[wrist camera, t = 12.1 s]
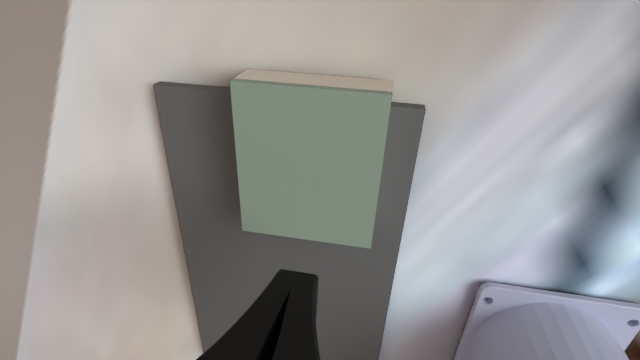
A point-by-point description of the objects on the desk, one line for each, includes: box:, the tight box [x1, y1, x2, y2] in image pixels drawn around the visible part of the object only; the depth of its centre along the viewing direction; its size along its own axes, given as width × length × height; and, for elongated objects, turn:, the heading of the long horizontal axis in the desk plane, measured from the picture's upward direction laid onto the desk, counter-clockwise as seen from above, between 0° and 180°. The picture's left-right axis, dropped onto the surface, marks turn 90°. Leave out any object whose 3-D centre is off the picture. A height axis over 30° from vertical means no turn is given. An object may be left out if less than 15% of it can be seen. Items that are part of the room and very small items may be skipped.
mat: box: [153, 82, 425, 360], centre depth 21 cm, size 20×12×1 cm, turn 177°
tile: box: [230, 69, 392, 249], centre depth 16 cm, size 7×2×6 cm
